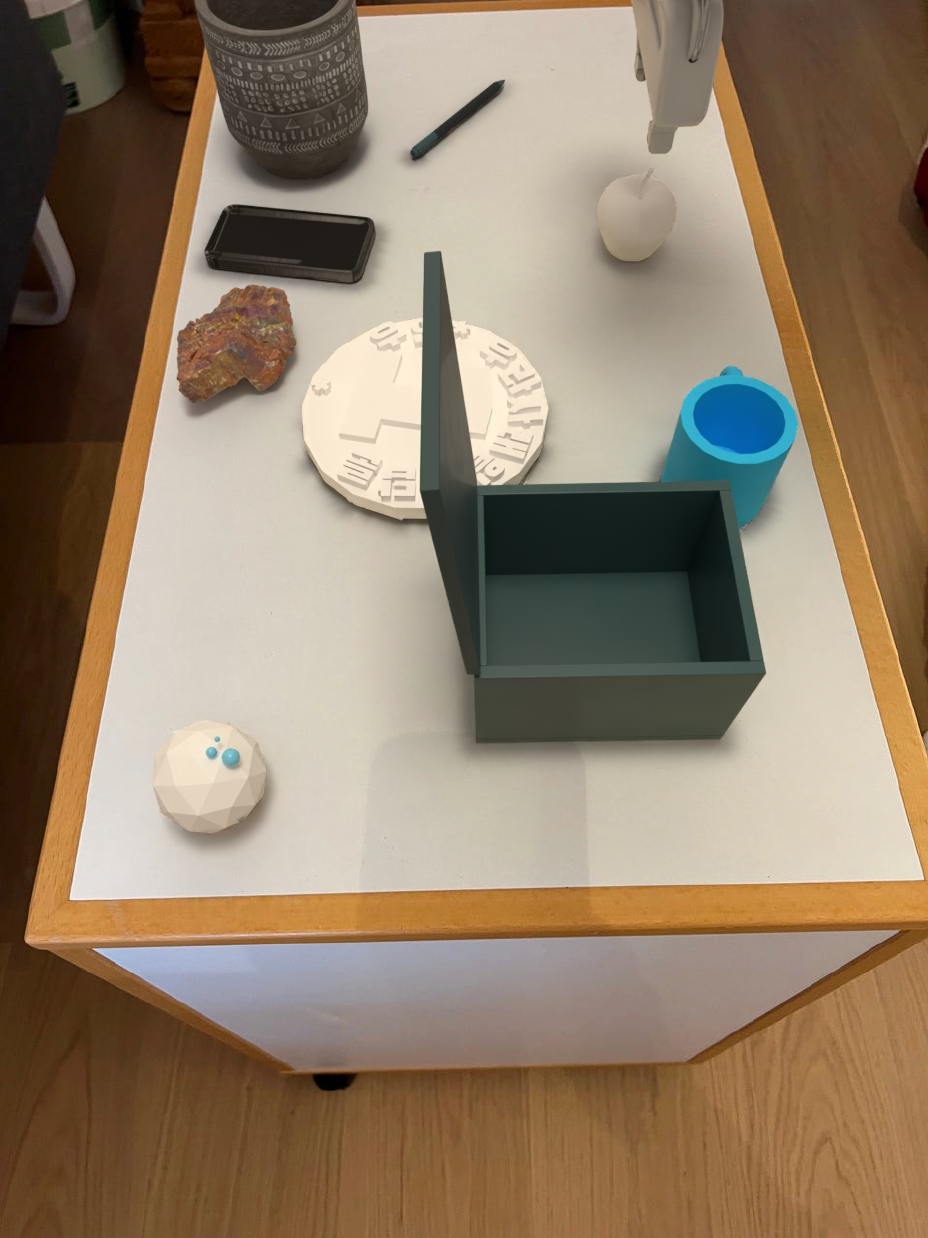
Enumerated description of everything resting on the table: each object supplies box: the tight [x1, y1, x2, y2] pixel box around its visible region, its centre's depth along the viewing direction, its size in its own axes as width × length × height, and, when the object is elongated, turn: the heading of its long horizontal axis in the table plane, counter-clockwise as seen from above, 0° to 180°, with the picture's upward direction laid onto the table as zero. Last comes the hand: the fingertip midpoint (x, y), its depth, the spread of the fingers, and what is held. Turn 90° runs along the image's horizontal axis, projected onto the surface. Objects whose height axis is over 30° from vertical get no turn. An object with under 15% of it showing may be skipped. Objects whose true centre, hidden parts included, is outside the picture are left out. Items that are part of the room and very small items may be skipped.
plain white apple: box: [596, 167, 678, 262], centre depth 78 cm, size 7×7×8 cm
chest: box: [473, 480, 767, 744], centre depth 57 cm, size 17×14×11 cm
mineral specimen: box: [175, 284, 297, 404], centre depth 73 cm, size 12×8×7 cm
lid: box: [420, 250, 481, 676], centre depth 45 cm, size 18×14×1 cm
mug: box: [659, 365, 799, 528], centre depth 66 cm, size 12×8×8 cm
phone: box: [203, 203, 376, 283], centre depth 82 cm, size 8×1×15 cm
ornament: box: [152, 718, 268, 834], centre depth 54 cm, size 7×7×8 cm
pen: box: [409, 79, 506, 159], centre depth 91 cm, size 1×16×1 cm, turn 142°
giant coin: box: [301, 317, 549, 522], centre depth 71 cm, size 20×20×3 cm
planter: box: [193, 0, 369, 181], centre depth 83 cm, size 14×14×15 cm
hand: (651, 111), depth 70 cm, fingers open, 8 cm apart
